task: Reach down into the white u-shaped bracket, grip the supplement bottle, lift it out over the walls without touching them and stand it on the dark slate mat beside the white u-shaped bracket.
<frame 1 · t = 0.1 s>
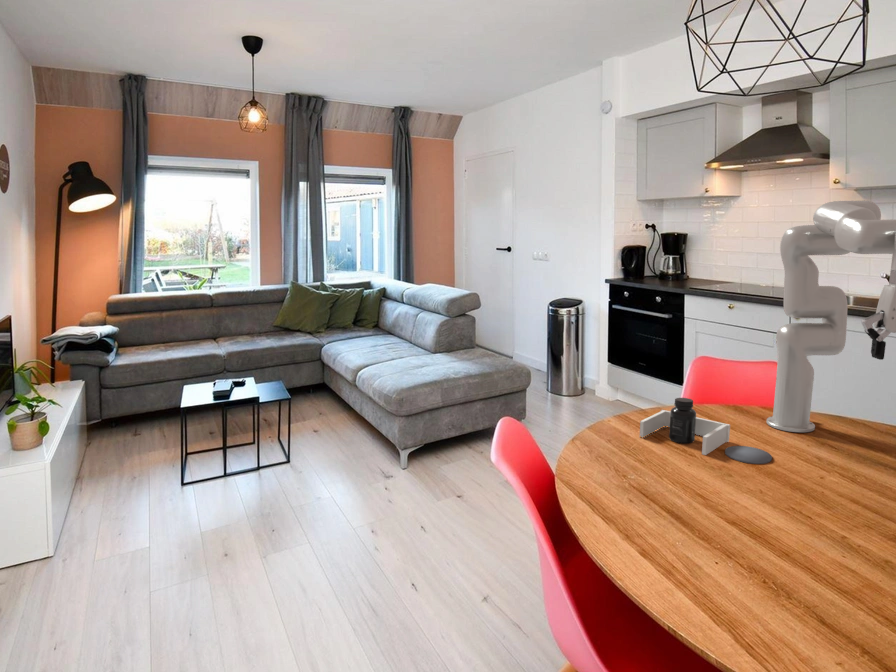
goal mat: (747, 455, 150), on the table
white u-shaped bracket: (681, 439, 162), on the table
supplement bottle: (681, 440, 162), on the table
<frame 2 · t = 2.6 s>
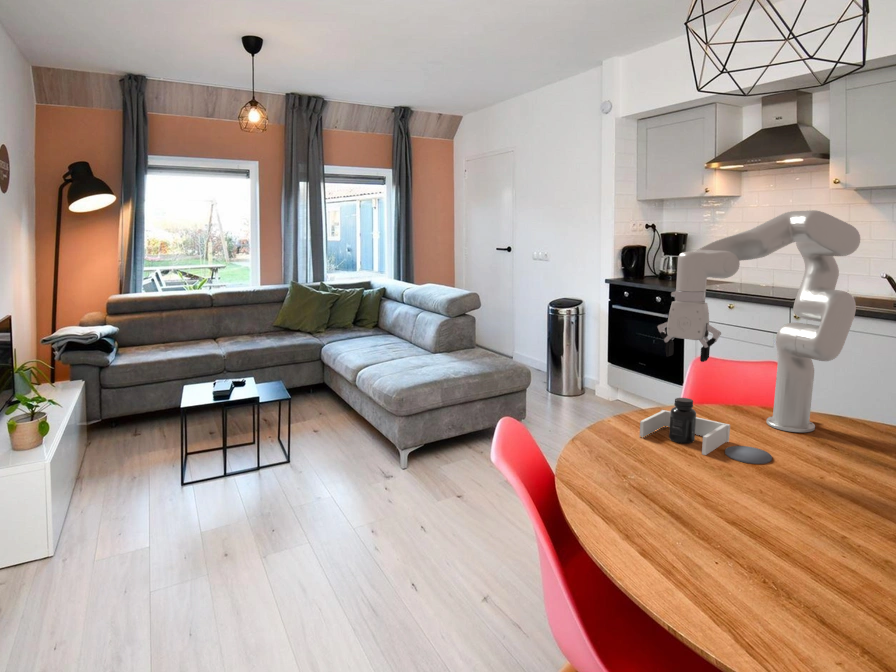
hand: (686, 358, 158), 24 cm above the table, tool pointing down, fingers open, 9 cm apart
nothing on the table moved.
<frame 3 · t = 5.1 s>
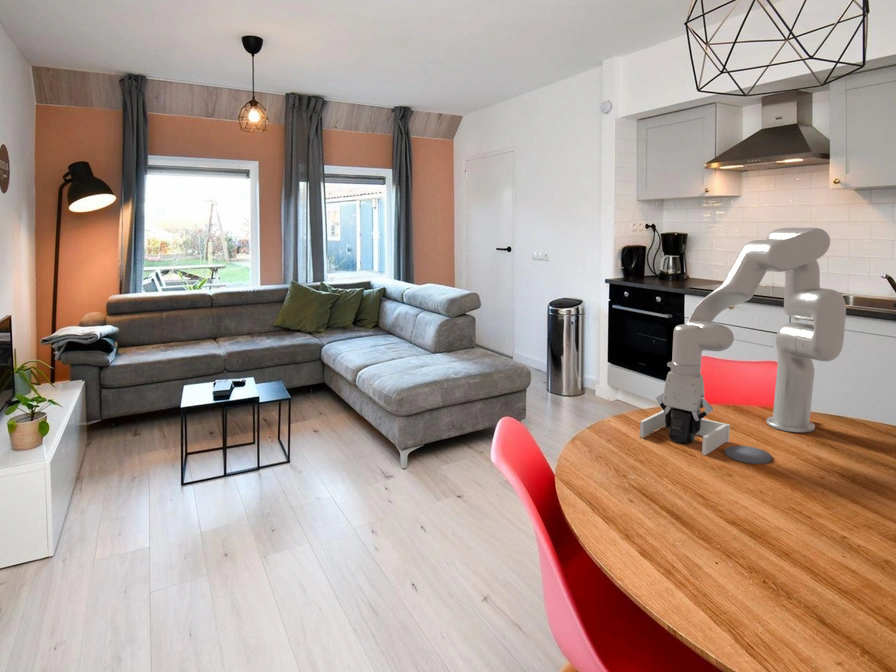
hand: (682, 429, 161), 3 cm above the table, tool pointing down, fingers closed on supplement bottle, 6 cm apart
supplement bottle: (681, 440, 162), on the table, touching gripper
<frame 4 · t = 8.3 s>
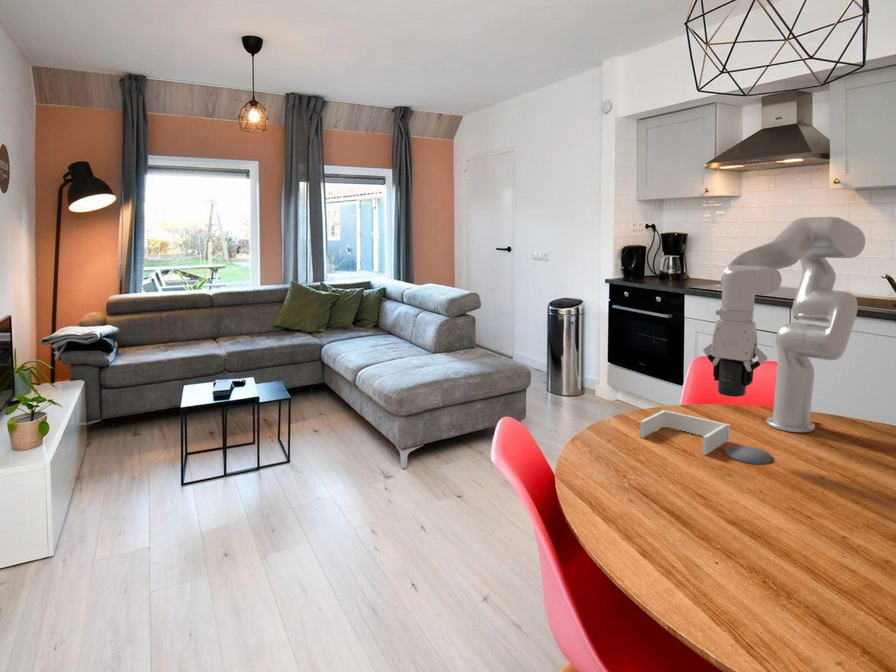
hand: (732, 381, 150), 19 cm above the table, tool pointing down, fingers closed on supplement bottle, 6 cm apart
supplement bottle: (731, 394, 151), point 16 cm above the table, touching gripper
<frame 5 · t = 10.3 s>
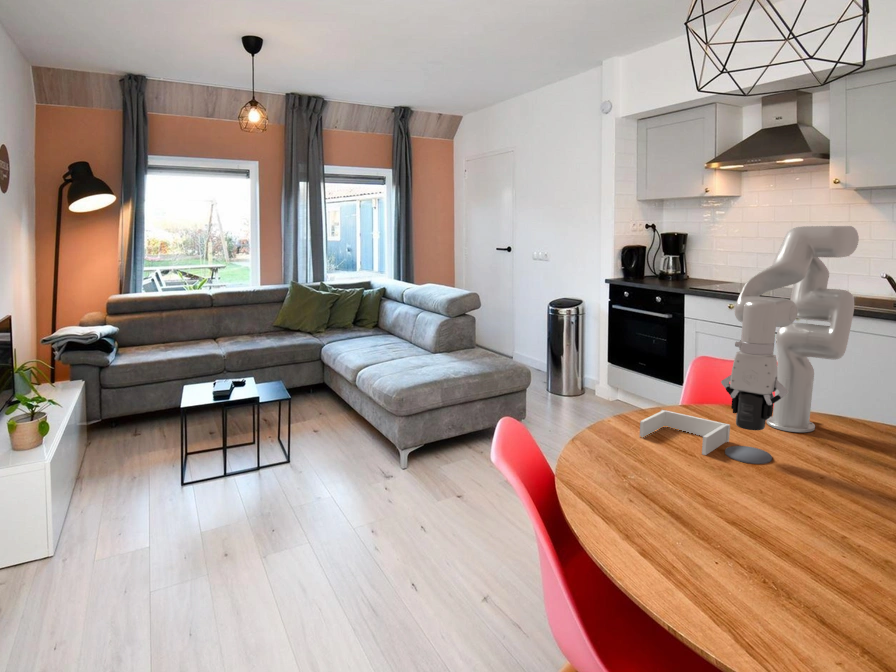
hand: (751, 414, 148), 11 cm above the table, tool pointing down, fingers closed on supplement bottle, 6 cm apart
supplement bottle: (749, 427, 148), point 8 cm above the table, touching gripper
when the fingers open (6 cm above the table, at t = 11.9 s): supplement bottle drops 2 cm, resting on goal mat.
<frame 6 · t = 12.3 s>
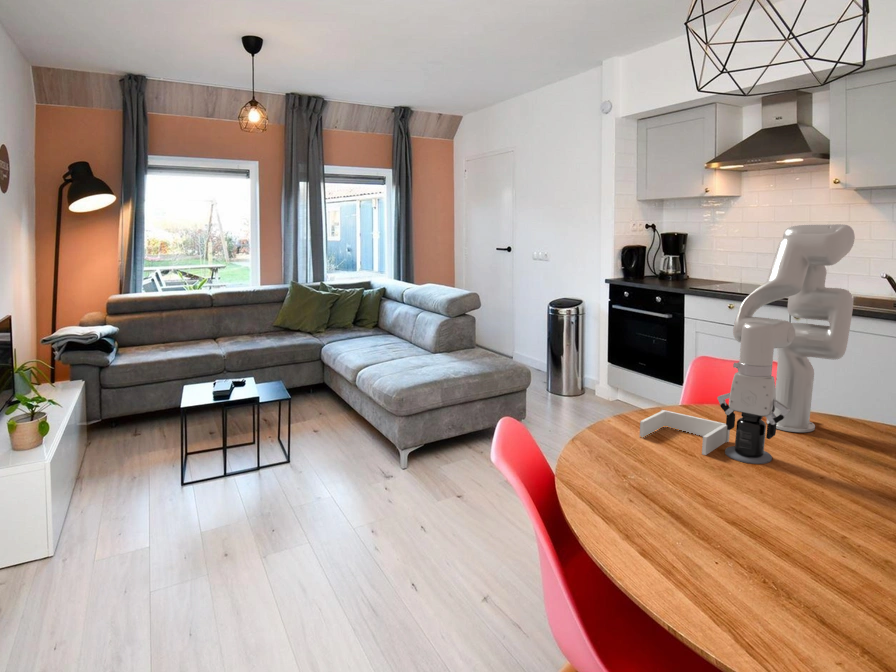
hand: (749, 433, 149), 6 cm above the table, tool pointing down, fingers open, 9 cm apart
supplement bottle: (748, 454, 150), resting on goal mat
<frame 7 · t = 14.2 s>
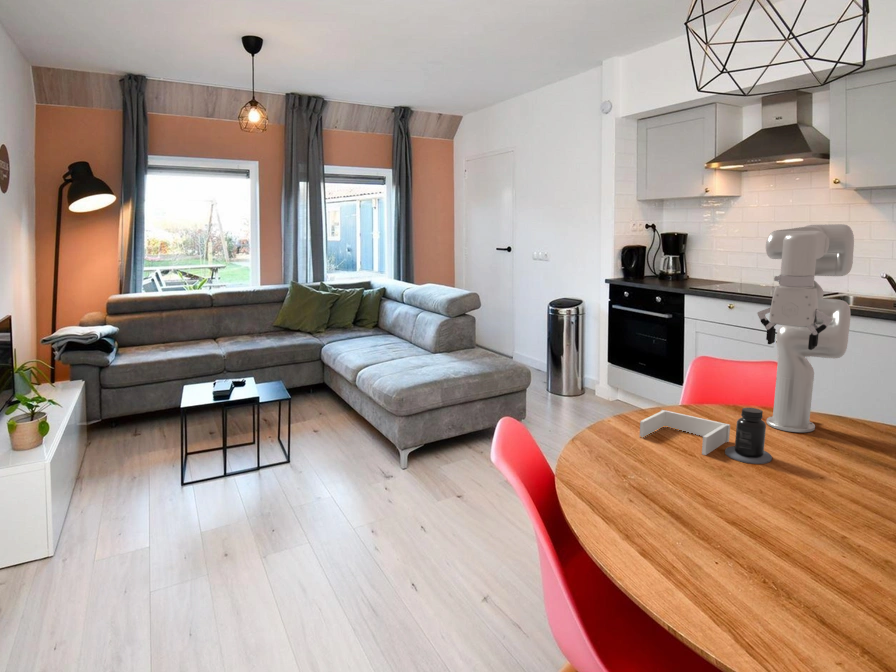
hand: (790, 346, 149), 29 cm above the table, tool pointing down, fingers open, 9 cm apart
nothing on the table moved.
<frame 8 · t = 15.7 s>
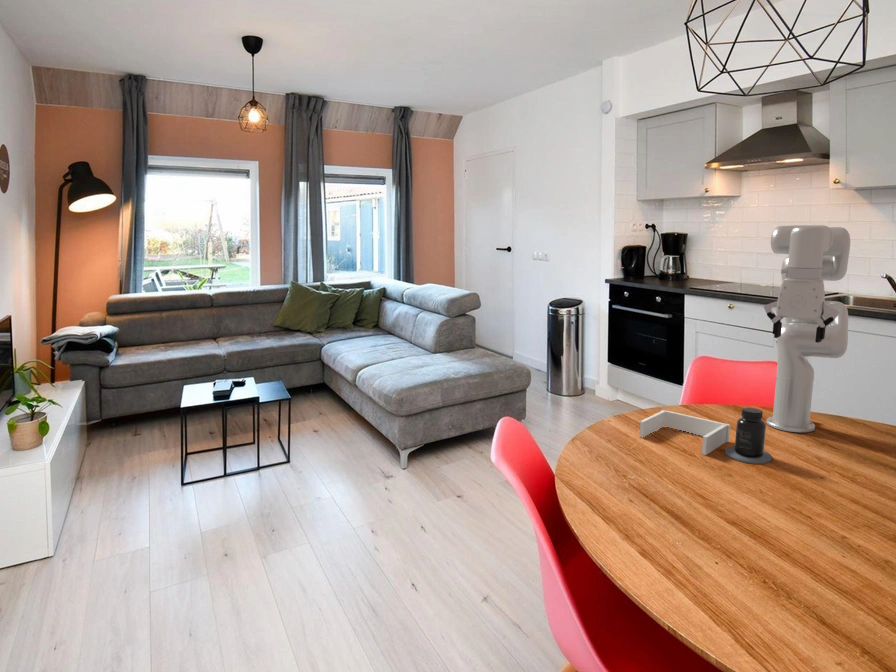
hand: (797, 339, 149), 30 cm above the table, tool pointing down, fingers open, 9 cm apart
nothing on the table moved.
at the end: supplement bottle 0.1 cm off-centre on the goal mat, point 0.4 cm above the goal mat's base; supplement bottle tilted 0°; supplement bottle touching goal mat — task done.
